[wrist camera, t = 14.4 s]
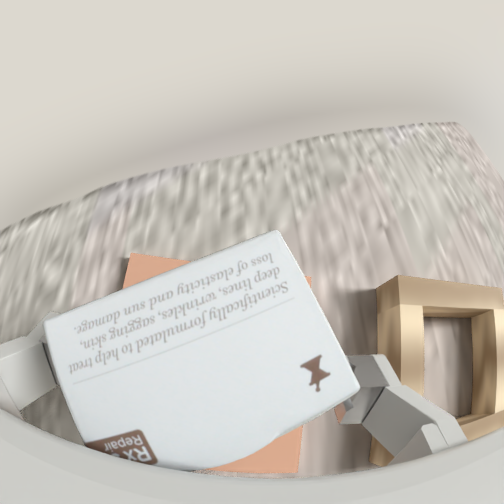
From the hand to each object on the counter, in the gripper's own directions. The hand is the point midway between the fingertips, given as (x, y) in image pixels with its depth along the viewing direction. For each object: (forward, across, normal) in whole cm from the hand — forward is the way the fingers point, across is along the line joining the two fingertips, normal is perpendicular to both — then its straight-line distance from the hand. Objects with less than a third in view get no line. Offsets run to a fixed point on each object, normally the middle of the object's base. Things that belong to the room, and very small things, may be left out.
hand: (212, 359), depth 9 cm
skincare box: (+6, 0, +6) cm, 9 cm away
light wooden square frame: (+6, -18, +7) cm, 20 cm away
